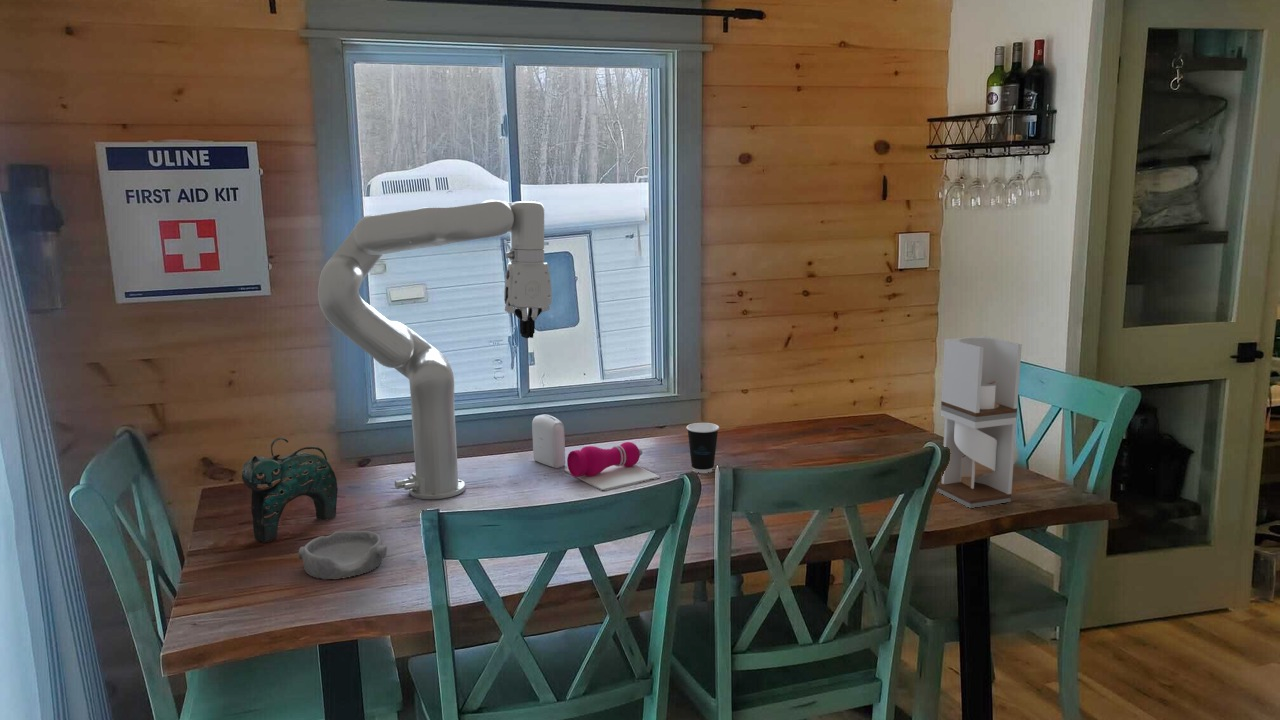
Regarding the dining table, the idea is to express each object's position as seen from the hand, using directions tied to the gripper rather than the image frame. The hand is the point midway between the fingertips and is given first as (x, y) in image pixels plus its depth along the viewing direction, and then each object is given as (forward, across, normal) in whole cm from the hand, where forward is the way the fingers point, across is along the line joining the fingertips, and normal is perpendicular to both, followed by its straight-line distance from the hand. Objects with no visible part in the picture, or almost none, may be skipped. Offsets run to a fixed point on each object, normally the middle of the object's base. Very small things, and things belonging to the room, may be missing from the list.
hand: (527, 337), depth 211 cm
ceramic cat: (+37, -53, 0) cm, 64 cm away
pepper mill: (+30, +9, -6) cm, 32 cm away
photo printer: (+35, +11, +10) cm, 38 cm away
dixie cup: (+33, +40, -16) cm, 54 cm away
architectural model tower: (+32, +78, -65) cm, 106 cm away
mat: (+34, +19, -6) cm, 40 cm away
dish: (+37, -49, -25) cm, 66 cm away
